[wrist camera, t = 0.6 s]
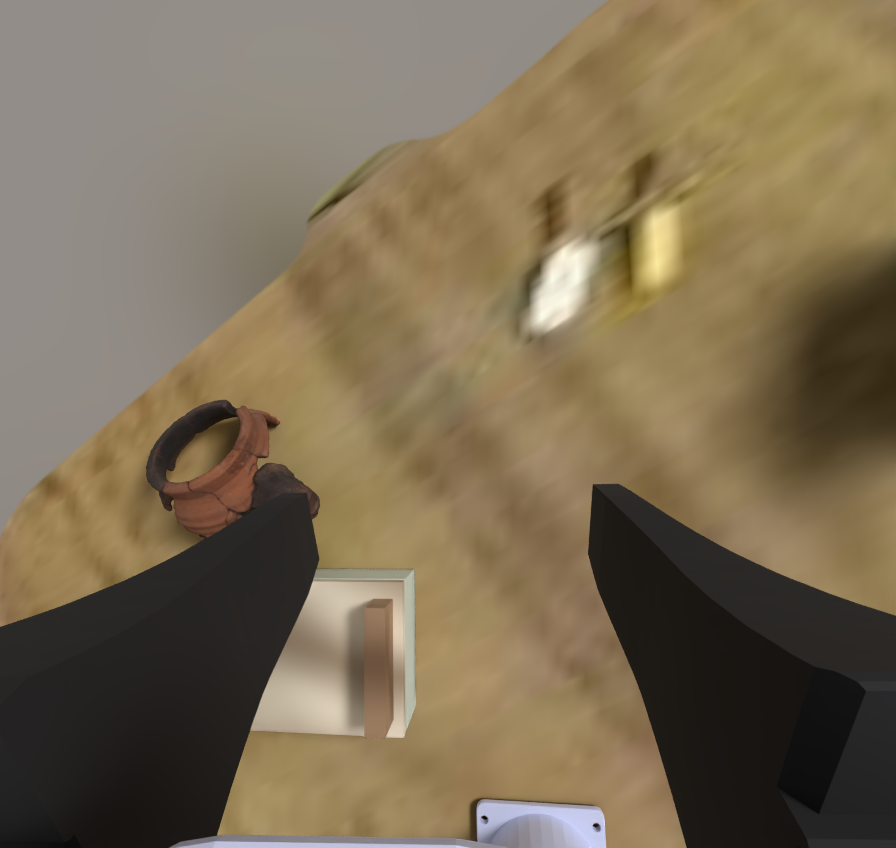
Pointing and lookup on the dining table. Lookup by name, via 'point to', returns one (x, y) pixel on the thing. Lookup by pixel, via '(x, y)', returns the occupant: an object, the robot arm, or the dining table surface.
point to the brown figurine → (222, 471)
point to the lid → (341, 664)
